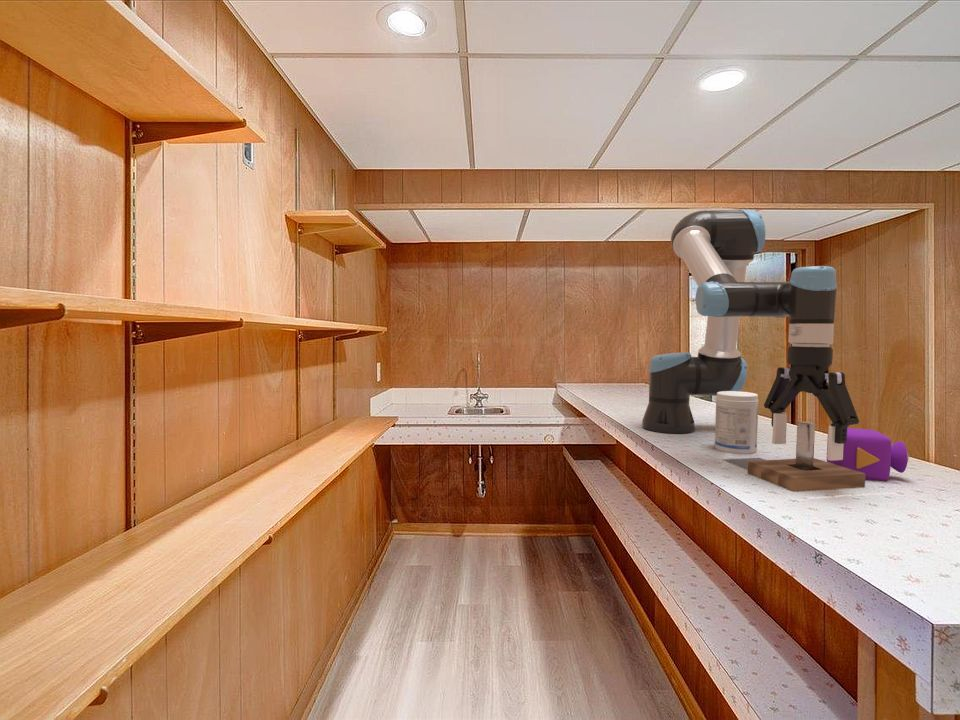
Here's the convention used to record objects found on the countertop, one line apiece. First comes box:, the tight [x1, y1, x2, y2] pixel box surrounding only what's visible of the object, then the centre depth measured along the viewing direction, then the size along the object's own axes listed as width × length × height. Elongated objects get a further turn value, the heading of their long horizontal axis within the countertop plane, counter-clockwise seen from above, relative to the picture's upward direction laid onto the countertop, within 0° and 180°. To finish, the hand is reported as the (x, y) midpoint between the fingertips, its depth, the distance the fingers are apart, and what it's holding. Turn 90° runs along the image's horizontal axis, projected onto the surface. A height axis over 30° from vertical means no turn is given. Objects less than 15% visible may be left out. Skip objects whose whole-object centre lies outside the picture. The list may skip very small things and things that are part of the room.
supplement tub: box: [714, 391, 759, 455], centre depth 127 cm, size 10×10×15 cm
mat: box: [721, 457, 766, 471], centre depth 112 cm, size 12×10×1 cm
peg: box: [795, 421, 816, 471], centre depth 102 cm, size 3×3×12 cm
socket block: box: [747, 457, 866, 493], centre depth 102 cm, size 12×16×3 cm
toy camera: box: [826, 427, 910, 482], centre depth 106 cm, size 11×14×10 cm
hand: (805, 451), depth 102 cm, fingers open, 13 cm apart
